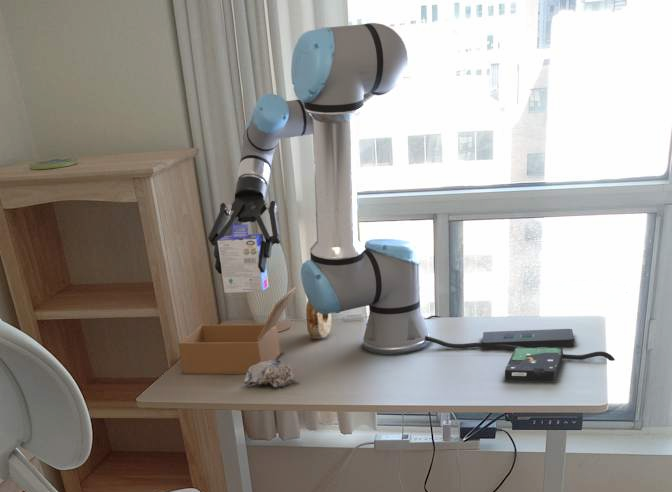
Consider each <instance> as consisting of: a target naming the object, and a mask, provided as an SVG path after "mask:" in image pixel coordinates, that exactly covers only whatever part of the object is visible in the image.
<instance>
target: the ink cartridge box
mask: <svg viewBox="0 0 672 492" xmlns="http://www.w3.org/2000/svg"><path fill="white" fill-rule="evenodd" d="M240 228H241V229H244V230H239V231H238V230H237V229H240ZM235 229H236V230H237V231H236V230H235ZM262 241H264V236H263V234H262V233H251V234H249V224H247V223H246V224H241V225H233V233H232V235H231V236H224V237H222V238H220V239H219V240H218V241H217V242H218V249H219V256H220V264H221V271H222V274H221V275H222V283H223V285H222V286H223V293H224V294H235V293H236V294H238V293H262V292H264V291H265V290H267V289H269V287H270V285H269V275H268V269H267V265H266V266H265V273H261V271H260V269H259V267H258V262H259V255H260V249H261V242H262Z"/></svg>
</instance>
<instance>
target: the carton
mask: <svg viewBox="0 0 672 492" xmlns="http://www.w3.org/2000/svg"><path fill="white" fill-rule="evenodd" d="M265 324H266V323H260V324H259V323H257V324H255V323H253V324H252V323H251V324H250V323H249V324H247V323H246V324H200V325H199V326H198V327H197V328H195V329H194V330H193V331H192V332H190V333H189V334H188V335H187V336H185V337H184V338H183V339H182V340H180V341H179V342H177V343H178V349H179V356H180V361H181V368H182V373H183V375H184V374H186V375H187V374H188V375H189V374H192V375H193V374H197V375H198V374H201V375H202V374H205V375H206V374H207V375H208V374H209V375H210V374H211V375H214V374H217V375H218V374H219V375H222V374H224V375H230V374H231V375H233V374H235V375H240V374H241V375H246V374H247V372H248V369H249V368H250V367H251V366H253V365H256V364H258V363H259V362H264V361H269V360H274V359H278V357H279V356H280V355H281V354H282V353H281V344H280V338H279V337H280V336H279V328H278V324H277V323H276V324H275V325H274V326H273V327H272V328H271V329H270V330H269V331H268V332H267V333H265V334H264V335H263V336H262V337H261V338H260V339H259V340H257V338H258V337H259V335H260V333H261V331H262V329H263V327H264V325H265Z"/></svg>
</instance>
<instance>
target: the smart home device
mask: <svg viewBox="0 0 672 492" xmlns="http://www.w3.org/2000/svg"><path fill="white" fill-rule="evenodd" d="M482 343H483V347H482V350H503V349H502V348H496V347H495V345H497V344H505V345H513V346H519V347H525V348H538V347H545V348H564V347H568V348H569V347H574V346H575V337H574V332H573V329H572V328H557V329H556V328H554V329H553V328H551V329H526V330H525V329H524V330H502V331H484V332H483V333H482Z"/></svg>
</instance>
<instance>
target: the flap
mask: <svg viewBox="0 0 672 492" xmlns="http://www.w3.org/2000/svg"><path fill="white" fill-rule="evenodd" d="M296 289H297V287H296V286H293V287H292V288H291V289H290V290H289V291H288V292H287V293H286V294H285V295H284V296H283V297H281V298H280V299H279V300H278V301H277V302H276V303H275V305H274V307H273V308H272V310H271V312H270V314H269V316H268V318H267V320H266V322H265V323H264V324H265V325H264V327H263V329H262V331H261V333H260V335H259V337H258V338H257V340H259V339H260V338H261V337H262V336H263V335H264V334H265V333H267V332H268V331H269V330H270V329H271V328H272V327H273V326H274V325H275V324H277V323H278V322H279V320H280V318H281V316H282V315H283V313H284V311H285V309H286V307H287V305H288V303H289V302H290V300H291V298H292V296H293V294H294V292H295V290H296Z"/></svg>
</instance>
